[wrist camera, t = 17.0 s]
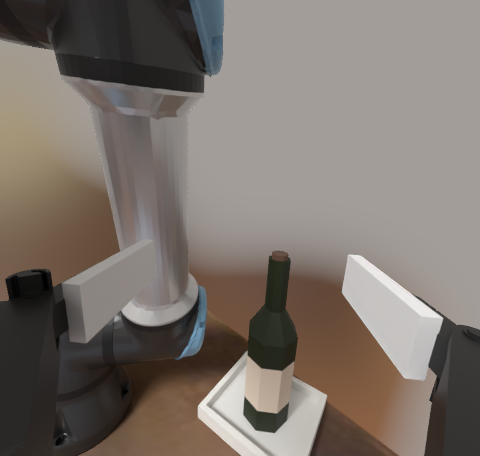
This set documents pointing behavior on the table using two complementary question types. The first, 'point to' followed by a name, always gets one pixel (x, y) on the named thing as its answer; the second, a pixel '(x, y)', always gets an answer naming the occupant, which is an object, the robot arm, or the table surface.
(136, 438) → the table surface
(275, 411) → the wine bottle
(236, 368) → the serving tray
